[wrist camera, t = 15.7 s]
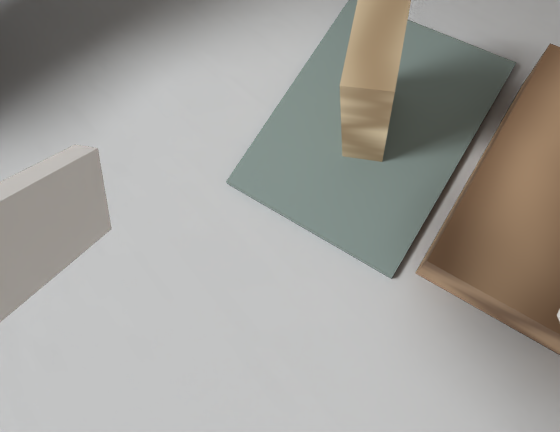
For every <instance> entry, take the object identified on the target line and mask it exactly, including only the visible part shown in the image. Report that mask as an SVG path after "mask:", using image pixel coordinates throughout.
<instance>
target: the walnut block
mask: <svg viewBox="0 0 560 432" xmlns="http://www.w3.org/2000/svg"><path fill="white" fill-rule="evenodd" d="M416 274H418V275H420V276H421V277H423V278H425V279H427V280H428V281H430V282H432V283H434V284H435V285H437V286H439V287H441V288H442V289H444V290H446V291H448V292H450V293H451V294H453V295H455V296H457V297H458V298H460V299H462V300H464V301H465V302H467V303H469V304H471V305H473V306H474V307H476V308H478V309H480V310H481V311H483V312H485V313H487V314H488V315H490V316H492V317H494V318H496V319H497V320H499V321H501V322H503V323H504V324H506V325H508V326H510V327H511V328H513V329H515V330H517V331H518V332H520V333H522V334H524V335H526V336H527V337H529V338H531V339H533V340H534V341H536V342H538V343H540V344H541V345H543V346H545V347H547V348H549V349H550V350H552V351H554V352H556V353H557V354H559V355H560V322H559V319H558V317H557V313H558V311H559V309H560V47H558V46H555V45H553V44H550V45H549V46H548V48H547V49H546V51H545V52H544V54H543V55H542V57H541V58H540V60H539V61H538V62H537V64H536V65H535V67H534V68H533V70H532V71H531V73H530V74H529V76H528V77H527V79H526V80H525V82H524V83H523V85H522V87H521V88H520V90H519V92H518V94H517V95H516V97H515V99H514V101H513V102H512V104H511V106H510V108H509V109H508V111H507V113H506V115H505V116H504V118H503V120H502V122H501V123H500V125H499V127H498V129H497V130H496V132H495V134H494V136H493V137H492V139H491V141H490V143H489V144H488V146H487V148H486V150H485V151H484V153H483V155H482V157H481V159H480V160H479V162H478V164H477V166H476V167H475V169H474V171H473V173H472V174H471V176H470V178H469V180H468V181H467V183H466V185H465V187H464V188H463V190H462V192H461V194H460V195H459V197H458V199H457V201H456V202H455V204H454V206H453V208H452V209H451V211H450V213H449V215H448V216H447V218H446V220H445V222H444V223H443V225H442V227H441V229H440V230H439V232H438V234H437V236H436V238H435V239H434V241H433V243H432V245H431V246H430V248H429V250H428V252H427V253H426V255H425V257H424V259H423V260H422V262H421V264H420V266H419V267H418V269H417V271H416Z"/></svg>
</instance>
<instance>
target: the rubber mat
mask: <svg viewBox="0 0 560 432" xmlns="http://www.w3.org/2000/svg"><path fill="white" fill-rule="evenodd" d="M357 1H358V0H349V1H348V2H347V4H346V5H345V7H344V8H343V9H342V11H341V12H340V14H339V15H338V17H337V18H336V20H335V21H334V23H333V24H332V26H331V27H330V29H329V30H328V32H327V33H326V35H325V36H324V38H323V39H322V41H321V42H320V44H319V45H318V46H317V48H316V49H315V51H314V52H313V54H312V55H311V57H310V58H309V60H308V61H307V63H306V64H305V66H304V67H303V69H302V70H301V72H300V73H299V75H298V76H297V78H296V79H295V81H294V82H293V83H292V85H291V86H290V88H289V89H288V91H287V92H286V94H285V95H284V97H283V98H282V100H281V101H280V103H279V104H278V106H277V107H276V109H275V110H274V112H273V113H272V115H271V116H270V118H269V119H268V121H267V122H266V123H265V125H264V126H263V128H262V129H261V131H260V132H259V134H258V135H257V137H256V138H255V140H254V141H253V143H252V144H251V146H250V147H249V149H248V150H247V152H246V153H245V155H244V156H243V158H242V159H241V160H240V162H239V163H238V165H237V166H236V168H235V169H234V171H233V172H232V174H231V175H230V177H229V178H228V180H227V181H226V182H227V184H229V185H230V186H232V187H234V188H235V189H237V190H239V191H241V192H242V193H244V194H246V195H248V196H249V197H251V198H253V199H254V200H256V201H258V202H260V203H261V204H263V205H265V206H267V207H268V208H270V209H272V210H273V211H275V212H277V213H279V214H280V215H282V216H284V217H286V218H287V219H289V220H291V221H292V222H294V223H296V224H298V225H299V226H301V227H303V228H305V229H306V230H308V231H310V232H311V233H313V234H315V235H317V236H318V237H320V238H322V239H323V240H325V241H327V242H329V243H330V244H332V245H334V246H336V247H337V248H339V249H341V250H342V251H344V252H346V253H348V254H349V255H351V256H353V257H355V258H356V259H358V260H360V261H361V262H363V263H365V264H367V265H368V266H370V267H372V268H374V269H375V270H377V271H379V272H380V273H382V274H384V275H386V276H387V277H389V278H392V277H393V275H394V273H395V272H396V270H397V268H398V266H399V265H400V263H401V261H402V260H403V258H404V256H405V254H406V253H407V251H408V249H409V247H410V246H411V244H412V242H413V241H414V239H415V237H416V235H417V234H418V232H419V230H420V228H421V227H422V225H423V223H424V221H425V220H426V218H427V216H428V215H429V213H430V211H431V209H432V208H433V206H434V204H435V202H436V201H437V199H438V197H439V196H440V194H441V192H442V190H443V189H444V187H445V185H446V183H447V182H448V180H449V178H450V177H451V175H452V173H453V171H454V170H455V168H456V166H457V164H458V163H459V161H460V159H461V158H462V156H463V154H464V152H465V151H466V149H467V147H468V145H469V144H470V142H471V140H472V138H473V137H474V135H475V133H476V132H477V130H478V128H479V126H480V125H481V123H482V121H483V119H484V118H485V116H486V114H487V113H488V111H489V109H490V107H491V106H492V104H493V102H494V100H495V99H496V97H497V95H498V94H499V92H500V90H501V88H502V87H503V85H504V83H505V81H506V80H507V78H508V76H509V74H510V73H511V71H512V69H513V68H514V66H515V64H516V62H513V61H511V60H508V59H506V58H503V57H501V56H498V55H496V54H493V53H491V52H488V51H485V50H483V49H480V48H478V47H475V46H473V45H470V44H468V43H465V42H463V41H460V40H458V39H455V38H452V37H450V36H447V35H445V34H442V33H440V32H437V31H435V30H432V29H430V28H427V27H424V26H422V25H419V24H417V23H414V22H412V21H409V20H407V25H406V31H405V37H404V42H403V48H402V54H401V60H400V65H399V71H398V77H397V83H396V88H395V94H394V100H393V105H392V111H391V116H390V122H389V127H388V133H387V138H386V144H385V149H384V155H383V160H382V162H379V161H372V160H365V159H358V158H351V157H344V156H342V134H341V108H340V82H341V77H342V72H343V67H344V63H345V58H346V53H347V48H348V44H349V39H350V34H351V29H352V24H353V20H354V15H355V10H356V5H357Z"/></svg>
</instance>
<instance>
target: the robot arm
mask: <svg viewBox="0 0 560 432" xmlns="http://www.w3.org/2000/svg"><path fill="white" fill-rule="evenodd" d="M110 230H111V223H110V217H109V211H108V205H107V199H106V194H105V188H104V182H103V176H102V170H101V164H100V158H99V152H98V148H94V147H87V146H81V145H73V146H71V147H69V148H67V149H65V150H63V151H61V152H59V153H57V154H55V155H53V156H51V157H49V158H47V159H45V160H43V161H41V162H39V163H37V164H35V165H33V166H31V167H29V168H27V169H25V170H23V171H21V172H19V173H17V174H15V175H13V176H11V177H9V178H7V179H5V180H3V181H1V182H0V322H1V321H2V320H4V319H5V318H6V317H7V316H8V315H10V314H11V313H12V312H13V311H14V310H15V309H17V308H18V307H19V306H20V305H21V304H23V303H24V302H25V301H26V300H27V299H29V298H30V297H31V296H32V295H33V294H35V293H36V292H37V291H38V290H39V289H41V288H42V287H43V286H44V285H45V284H46V283H48V282H49V281H50V280H51V279H52V278H54V277H55V276H56V275H57V274H58V273H60V272H61V271H62V270H63V269H64V268H66V267H67V266H68V265H69V264H70V263H72V262H73V261H74V260H75V259H76V258H77V257H79V256H80V255H81V254H82V253H83V252H85V251H86V250H87V249H88V248H89V247H91V246H92V245H93V244H94V243H95V242H97V241H98V240H99V239H100V238H101V237H103V236H104V235H105V234H106V233H107V232H109V231H110ZM557 317H558V319H559V322H560V309H559V311H558V313H557Z"/></svg>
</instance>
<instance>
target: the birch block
mask: <svg viewBox="0 0 560 432" xmlns="http://www.w3.org/2000/svg"><path fill="white" fill-rule="evenodd" d="M410 2H411V0H358V1H357V5H356V10H355V15H354V20H353V24H352V29H351V34H350V39H349V44H348V48H347V53H346V58H345V63H344V67H343V72H342V77H341V82H340V108H341V134H342V156H344V157H351V158H358V159H365V160H372V161H379V162H382V160H383V155H384V149H385V144H386V138H387V133H388V127H389V122H390V116H391V111H392V105H393V100H394V94H395V88H396V83H397V77H398V71H399V65H400V60H401V54H402V48H403V42H404V37H405V31H406V25H407V20H408V14H409V8H410Z"/></svg>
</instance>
